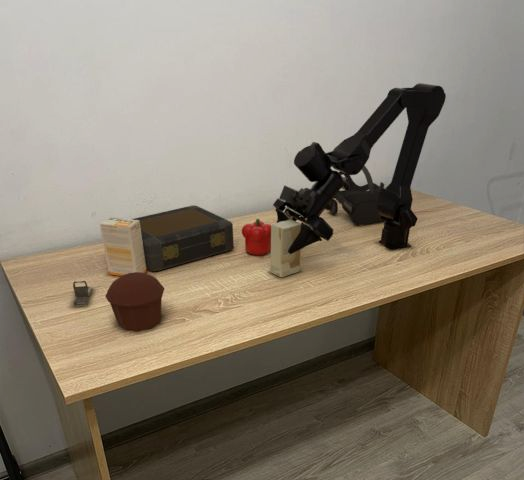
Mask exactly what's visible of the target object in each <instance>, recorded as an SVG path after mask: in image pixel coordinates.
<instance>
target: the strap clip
mask: <svg viewBox="0 0 524 480" xmlns="http://www.w3.org/2000/svg"><path fill="white" fill-rule="evenodd" d="M81 283H83V284H84V285H80V286H76V284H81ZM72 288H73V292H74V296H75V299H74V300H73V307H86V306H88V305H89V297H90V296H91V294H92V287H91V286H88V283H87V280H76V281H75V280H74V281H73V283H72Z"/></svg>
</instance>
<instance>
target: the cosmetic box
mask: <svg viewBox="0 0 524 480" xmlns="http://www.w3.org/2000/svg"><path fill="white" fill-rule="evenodd" d="M270 225H271V250H270V266H269V267H270V269H269V272H270V273H271V274H273V275H275V276H276V277H279V278H284V277H288V276H291V275H293V274H296V273H299V272H300V268H301V251H302V249H300V250H298V251H296V252H294V253H292V254H290V253H288V250H289V248H290V246H291V245H292V243H293V242H294V240H295V239H296V237H297V236H298V234H299V233H300V231H301V223H300V222H298V221H293V220H286V221H282V222H278V223H277V222H275V223H270Z"/></svg>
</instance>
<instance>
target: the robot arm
mask: <svg viewBox="0 0 524 480" xmlns="http://www.w3.org/2000/svg"><path fill="white" fill-rule="evenodd" d="M446 98H447V95H446V93H445V89H444V88H443V87H442V85H437V84H429V83H421V82H419V83H417V84H415V85H414V86H412V87H394V88H391V89H390V90H389V91H388V93H387V95H386V97H385V98H384V99H383V100H382V102H381V103H380V104H379V105H378V106H377V108H376V109H375V110H374V111H373V113H372V114H371V115H370V116H369V117H368V118H367V119H366V121H365V122H364V123H363V124H362V125H361V127H360V128H359V129H358V130H357V132H355V133H354V134H353V135H351V136H349V137H346V138H345V139H343V140H342V141H340V143H339V144H338V145H336V146H335V147H334V148H333V150H331V151H327V152H326V151H325V150H324V149H323V147H322V145H321V144H320V143H319V142H316V141H312V142H311V144H310V145H307V146H305V147H303V148H302V149H301V150H298V152H296V154H295V156H294V159H293V165H294V166H295V167H296V168H297V169H298V171H300V172H301V174H302V175H303V176H304V177H305V178H306V180H307V181H309V182H310V183H313V184H312V185H311V186H310V188H308V187H304V188H302V187H301V188H300V189H299V190H298V189H295V188H292V187H291V186H288V185H283V187H282V190H281V192H280V195H279V198H277V199H275V201H274V203H273V204H272V206H273V207H274V208H275V212H276V216H277V218H276V219H277V220H276V223H278V222H282V221H286V220H293V221H296V222H298V221H299V222H301V231H300V233H299V234H298V236H297V237H296V239H295V240H294V242H293V243H292V245H291V246H290V248H289V250H288V253H290V254H292V253H294V252H296V251H298V250H300V249H301V250H302V249H304V248H306V247H308V246H310V245H313V244H315V243H318V242H322V241H323V240H325V241H326V242H329V241H330V240H331V238H332V237H333V236H334V228H333V227H332V226H331V225H330V224H329V223H328V222H327V221H326V220H325V218H323V217H321V215H322V214H323V212H324V211H325V210H326V211H328V212H329V209H330V208H331V207H330V206H329V203H330V202H331V201H332V199H335V198H334V197H335V195H336V194H337V193H338V192H339V191H341V189H342V190H346V191H349V190H350V188H349V179H348V178H346V177H345V176H343V175H340V173H339V172H340V171H341V172H343V173H346V174H349V175H350V176H356V175H359V173H360V172H361V171H362V168H363V167H364V165H365V166H366V165H367V162H368V161H369V158H370V155H371V151H372V149H373V148H374V145H375V144H376V143H377V142H378V141H379V140H380V138H381V137H382V136H383V135H384V134H385V132H386V131H387V130H388V129H389V128H390V127H391V126H392V125H393V124H394V122H395V121H396V120H397V119H398V118H399V116H400V115H401V113H403V111H404V110H406V117H407V121H408V122H407V127H406V130H405V134H404V137H403V140H402V143H401V147H400V151H399V154H398V158H397V162H396V164H395V168H394V171H393V174H392V178H391V181H390V183H388V185H387V186H386V187H384V188H381V190H380V193H379V198H378V200H377V202H376V203H377V210H378V212H379V214H380V219H381V220H383V221H385V222H383V228H382V229H381V234H380V235H381V236H380V239H379V240H378V243H379V244H380V245H381V246H383V247H385V248H386V249H388V250H389V251H396V250H401V249H408V248H412V245H411V243H409V237H410V231H411V229H412V228H413V227H415V226H416V224H417V222H418V216H417V215H416V214H415V213H414V211H413V210H412V206H413V200H414V199H413V193H412V188H411V187H412V183H413V180H414V176H415V173H416V170H417V166H418V163H419V160H420V156H421V153H422V150H423V147H424V144H425V140H426V137H427V134H428V131H429V128H430V126H431V125H432V124H434V122H435V121H436V120H437V119H438V117H439V116H440V114H441V111H442V109H443V107H444V105H445V103H446ZM332 168H333V169H334V170H333V169H332ZM301 250H300V251H301Z"/></svg>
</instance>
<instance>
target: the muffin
mask: <svg viewBox="0 0 524 480" xmlns="http://www.w3.org/2000/svg"><path fill="white" fill-rule="evenodd" d="M164 292H165V287H164V286H163V284H162V283H161V282H160V280H158V278H157V277H155V276H154V275H152V274H148V273H146V272H145V273H141V272H134V273H128V274H125V275H123V276H118V278H116V279H115V280H113V281H112V283H111V284H110V286H109V287H108V289H107V292H106V294H105V295H104V297H105V299H106V300H107V302H108V303H109V304H110V308H111V310H112V312H113V314H114V317H115V320H116V324H117V325H118V326H119V327H121V328H122V329H123V330H124V331H132V332H136V333H137V332H142V331H145V330H152V329H153V328H154V327H155V326H158V325H159V324H161V318H162V299H163V296H164Z"/></svg>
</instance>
